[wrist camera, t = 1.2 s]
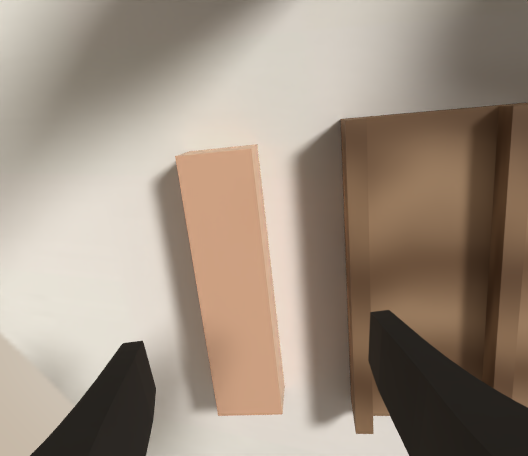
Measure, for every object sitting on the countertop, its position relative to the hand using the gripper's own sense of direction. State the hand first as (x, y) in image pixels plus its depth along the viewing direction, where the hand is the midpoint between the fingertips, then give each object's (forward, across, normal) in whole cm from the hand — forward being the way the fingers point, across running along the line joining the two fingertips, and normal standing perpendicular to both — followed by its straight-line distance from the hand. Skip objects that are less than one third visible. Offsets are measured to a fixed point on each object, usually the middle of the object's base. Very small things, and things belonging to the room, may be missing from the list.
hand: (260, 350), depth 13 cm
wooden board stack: (+9, -14, +4) cm, 17 cm away
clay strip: (+12, +1, +5) cm, 13 cm away
